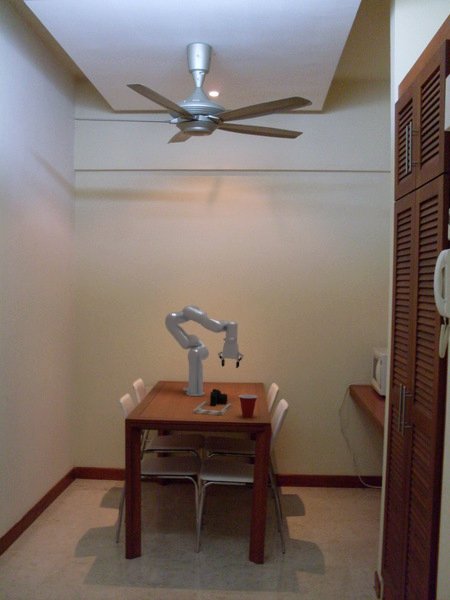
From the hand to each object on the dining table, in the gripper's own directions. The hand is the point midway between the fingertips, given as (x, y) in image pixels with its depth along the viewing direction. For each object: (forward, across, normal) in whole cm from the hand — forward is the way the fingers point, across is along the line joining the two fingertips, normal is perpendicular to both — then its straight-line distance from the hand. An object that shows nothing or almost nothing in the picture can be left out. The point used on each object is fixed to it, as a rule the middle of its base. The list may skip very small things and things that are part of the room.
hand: (230, 366), depth 354 cm
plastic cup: (+20, +24, -38) cm, 50 cm away
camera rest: (+21, 0, -32) cm, 38 cm away
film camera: (+21, -2, -16) cm, 27 cm away
